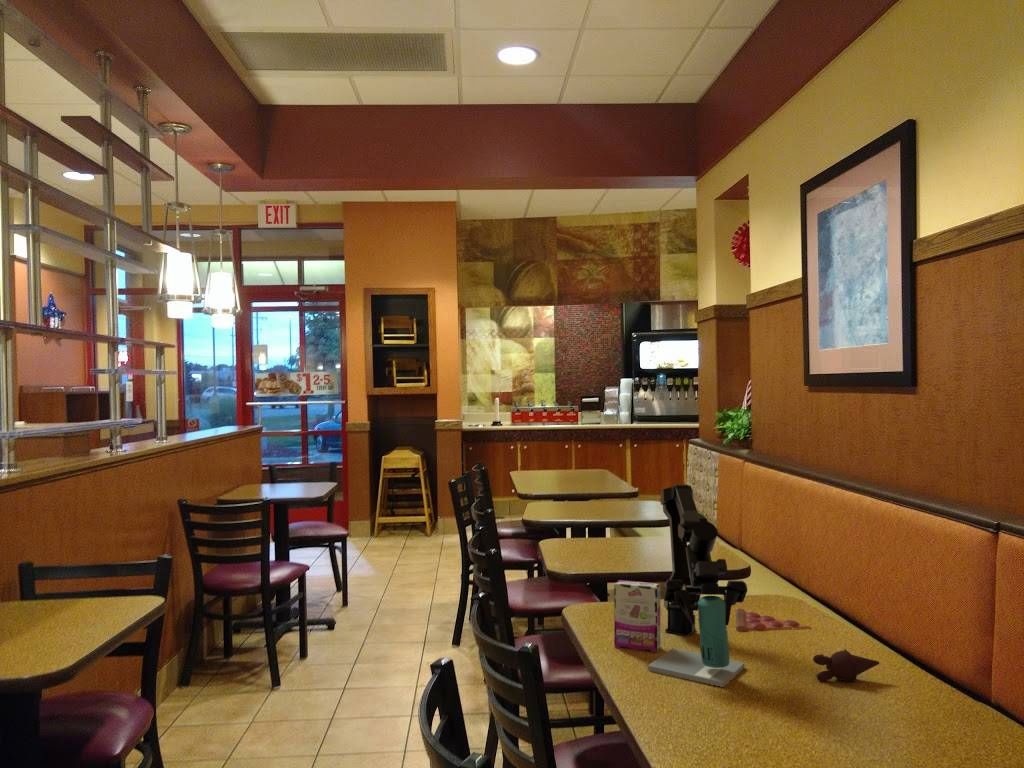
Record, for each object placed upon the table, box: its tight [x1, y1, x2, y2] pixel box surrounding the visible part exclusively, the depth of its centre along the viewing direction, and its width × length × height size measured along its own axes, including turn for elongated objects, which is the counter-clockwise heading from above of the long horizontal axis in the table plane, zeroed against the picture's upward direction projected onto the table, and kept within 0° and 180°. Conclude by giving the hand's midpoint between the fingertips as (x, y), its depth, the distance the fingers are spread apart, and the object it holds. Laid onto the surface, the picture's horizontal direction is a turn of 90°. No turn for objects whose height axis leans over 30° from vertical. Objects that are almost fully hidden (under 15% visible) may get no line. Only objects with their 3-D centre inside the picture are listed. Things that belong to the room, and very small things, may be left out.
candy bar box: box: [613, 579, 662, 653], centre depth 197 cm, size 11×5×16 cm, turn 68°
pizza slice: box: [735, 607, 812, 632], centre depth 217 cm, size 18×2×20 cm
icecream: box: [812, 648, 880, 682], centre depth 176 cm, size 7×7×15 cm
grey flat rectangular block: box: [647, 647, 745, 688], centre depth 182 cm, size 18×15×1 cm
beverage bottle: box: [697, 582, 731, 668], centre depth 177 cm, size 6×7×20 cm
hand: (710, 624), depth 176 cm, fingers open, 7 cm apart
